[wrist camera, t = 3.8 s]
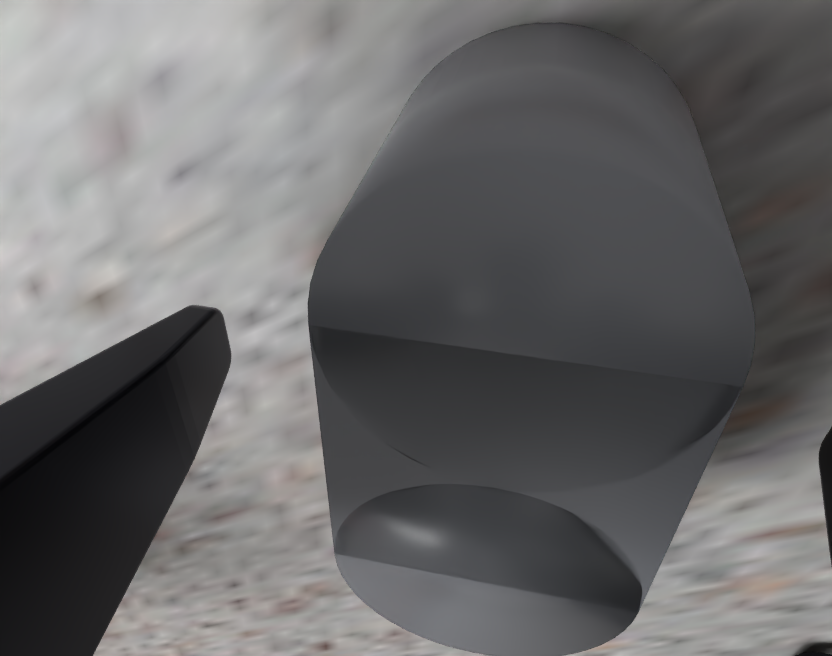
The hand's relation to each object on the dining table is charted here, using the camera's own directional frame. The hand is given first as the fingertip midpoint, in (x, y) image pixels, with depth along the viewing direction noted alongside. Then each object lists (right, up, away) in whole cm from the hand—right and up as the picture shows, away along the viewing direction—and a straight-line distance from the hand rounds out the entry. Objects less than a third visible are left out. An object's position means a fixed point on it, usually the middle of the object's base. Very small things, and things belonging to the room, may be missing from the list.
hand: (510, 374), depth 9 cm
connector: (0, +1, +1) cm, 2 cm away
